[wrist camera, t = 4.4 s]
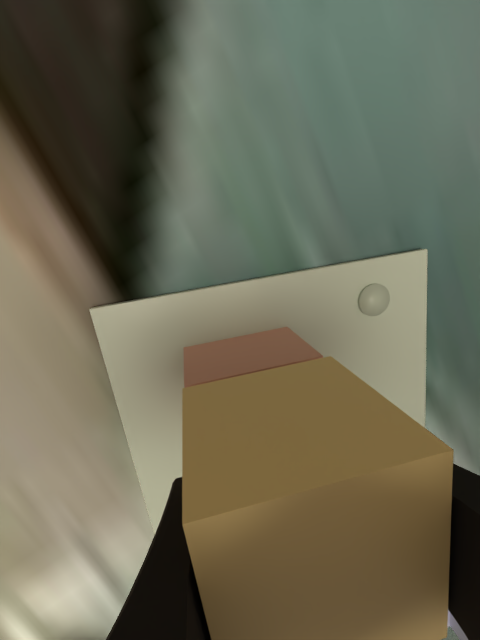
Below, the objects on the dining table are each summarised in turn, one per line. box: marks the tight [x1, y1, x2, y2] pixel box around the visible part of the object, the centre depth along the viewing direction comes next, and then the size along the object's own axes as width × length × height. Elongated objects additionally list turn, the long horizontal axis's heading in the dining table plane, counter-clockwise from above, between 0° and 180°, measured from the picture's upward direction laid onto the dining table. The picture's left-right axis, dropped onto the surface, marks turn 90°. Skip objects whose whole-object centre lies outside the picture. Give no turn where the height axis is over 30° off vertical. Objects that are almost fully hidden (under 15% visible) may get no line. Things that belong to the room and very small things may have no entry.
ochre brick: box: [182, 356, 453, 640], centre depth 8 cm, size 5×5×5 cm
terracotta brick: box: [183, 327, 323, 388], centre depth 13 cm, size 5×5×4 cm
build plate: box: [89, 249, 427, 535], centre depth 16 cm, size 14×16×1 cm
